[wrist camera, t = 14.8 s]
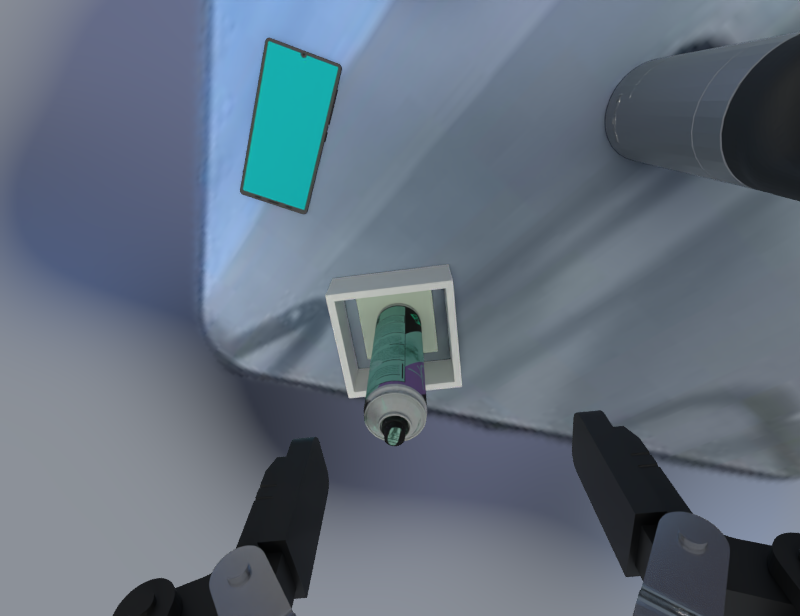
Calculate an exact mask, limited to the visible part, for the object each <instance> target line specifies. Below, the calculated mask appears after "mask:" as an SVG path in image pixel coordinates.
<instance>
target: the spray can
mask: <svg viewBox="0 0 800 616" xmlns="http://www.w3.org/2000/svg"><path fill="white" fill-rule="evenodd" d="M426 416H427V402H426V387H425V372H424V357H423V342H422V327H421V319H420V316H419V314H418V312H417V311H416V310H415V309H414V308H413V307H411V306H409V305H407V304H403V303H394V304H390V305H388V306H386V307H385V308H383V309H382V310H381V312H380V313H379V315H378V317H377V321H376V328H375V335H374V342H373V349H372V356H371V363H370V370H369V377H368V384H367V391H366V398H365V405H364V421H365V424H366V426H367V428H368V430H369V431H370V432H371V433H372V434H373V435H374V436H376V437H378V438H380V439H382V440H385V442H386V443H387V444H388V445H391V446H399V445H401V444H402V443H403V442H404V441H407V440H410V439H412V438H414V437H415V436H417V435H418V434H419V433H420V432H421V431H422V430H423V428H424V426H425V423H426Z"/></svg>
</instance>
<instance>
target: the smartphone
mask: <svg viewBox="0 0 800 616" xmlns="http://www.w3.org/2000/svg"><path fill="white" fill-rule="evenodd" d="M341 70H342V67H341V65H340V64H338V63H335V62H332V61H330V60H327V59H324V58H322V57H319V56H316V55H314V54H311V53H309V52H306V51H303V50H301V49H298V48H295V47H293V46H290V45H287V44H285V43H282V42H279V41H277V40H274V39H272V38H267V39H266V40H265V46H264V52H263V58H262V63H261V69H260V75H259V81H258V87H257V93H256V99H255V105H254V111H253V117H252V123H251V128H250V134H249V140H248V146H247V152H246V158H245V164H244V170H243V176H242V182H241V188H240V192H241V194H243V195H246V196H249V197H252V198H255V199H258V200H261V201H264V202H267V203H270V204H273V205H276V206H279V207H282V208H286V209H289V210H292V211H295V212H298V213H301V214H306V213H307V211H308V207H309V203H310V199H311V194H312V190H313V186H314V182H315V178H316V174H317V170H318V166H319V161H320V157H321V153H322V149H323V145H324V142H325V141H326V137H327V128H328V124H330V120H331V116H332V112H333V108H334V104H335V100H336V95H337V91H338V90H337V87H338V83H339V79H340V75H341Z"/></svg>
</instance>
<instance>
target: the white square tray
mask: <svg viewBox="0 0 800 616" xmlns="http://www.w3.org/2000/svg"><path fill="white" fill-rule="evenodd" d="M435 289H444V295H445V305H446V316H447V326H448V336H449V347H450V357H451V359H446V360H436V361H427V362H424V372H425V387H426V390H435V389H445V388H455V387H462V380H461V368H460V357H459V345H458V334H457V322H456V311H455V299H454V288H453V279H452V275H451V272H450V268H449V264H446V265H438V266H430V267H422V268H414V269H405V270H397V271H389V272H381V273H373V274H364V275H356V276H348V277H340V278H333V279H332V281H331V283H330V286H329V288H328V290H327V293H326V295H325V296H326V301H327V305H328V309H329V314H330V318H331V322H332V327H333V331H334V336H335V340H336V344H337V349H338V353H339V358H340V362H341V366H342V371H343V375H344V379H345V384H346V388H347V393H348V397H349V398H357V397H366V391H367V384H368V377H369V370H370V368H361V369H358V364H357V360H356V355H355V350H354V345H353V341H352V336H351V331H350V326H349V321H348V317H347V312H346V307H345V302H344V300H351V299H356V302H357V307H358V312H359V317H360V322H361V327H362V332H363V338H364V343H365V348H366V353H367V358H368V359H371V356H372V349H373V342H374V335H375V328H376V321H377V317H378V315H379V313H380V312H381V310H382V309H383V308H385V307H386V306H388V305H390V304H394V303H403V304H407V305H409V306H411V307H413V308H414V309H415V310H416V311H417V312H418V314H419V316H420V319H421V327H422V342H423V353H429V352H438V346H437V337H436V328H435V319H434V310H433V301H432V292H431V290H435Z"/></svg>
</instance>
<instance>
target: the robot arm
mask: <svg viewBox="0 0 800 616" xmlns="http://www.w3.org/2000/svg"><path fill="white" fill-rule="evenodd" d="M605 125H606V133H607V137H608V139H609V141H610V143H611V145H612V147H613V148H614V149H615V150H616V151H617V152H618V153H619V154H620V155H622V156H623V157H625V158H627V159H630V160H634V161H638V162H642V163H646V164H650V165H654V166H658V167H662V168H666V169H670V170H675V171H679V172H683V173H687V174H692V175H696V176H700V177H704V178H709V179H713V180H717V181H721V182H726V183H731V184H735V185H739V186H743V187H748V188H752V189H756V190H760V191H764V192H768V193H772V194H775V195H778V196H782V197H786V198H790V199H793V200H797V201H800V32H796V33H790V34H785V35H780V36H776V37H771V38H765V39H760V40H755V41H749V42H744V43H739V44H734V45H728V46H723V47H718V48H712V49H707V50H702V51H697V52H691V53H686V54H680V55H675V56H669V57H664V58H659V59H654V60H651V61H649V62H646V63H643V64H642V65H640V66H638V67H637V68H635V69H633V70H632V71H631V72H630V73H629V74H628V75H627V76H625V77H624V79H623V80H622V81H621V82H620V84H619V85H618V86H617V87H616V89H615V91H614V93H613V94H612V96H611V98H610V101H609V104H608V107H607V112H606V118H605ZM572 456H573V462H574V466H575V469H576V471H577V473H578V476H579V478H580V480H581V482H582V484H583V487H584V489H585V491H586V493H587V495H588V497H589V499H590V501H591V503H592V506H593V508H594V510H595V512H596V514H597V516H598V518H599V521H600V523H601V525H602V527H603V529H604V531H605V533H606V536H607V538H608V540H609V542H610V544H611V546H612V548H613V551H614V552H615V555H616V557H617V559H618V561H619V563H620V566H621V568H622V570H623V572H624V574H625V576H626V577H633V576H641V578H642V580H643V584H642V588H641V590H640V592H639V594H638V598H637V602H636V605H635V610H634V613H633V616H800V533H784V534H781V535H779V536H777V537H776V538H775V539H774V542H773V544H772V546H770V545H765V544H760V543H755V542H750V541H745V540H740V539H736V538H732V537H728V536H726V535H723V533H721V531H720V530H719V529H718V528H717V527H716V526H715V525H713V524H712V523H710V522H709V521H707V520H706V519H704V518H702V517H700V516H697V515H695V514H693V513H692V512H691V511H690V509H689V508H688V506H687V505H686V504H685V502H684V501H683V499H682V498H681V497H680V495H679V494H678V492H677V491H676V490H675V488H674V487H673V486H672V484H671V483H670V481H669V479H668V478H667V477H666V475H665V474H664V472H663V471H662V469H661V468H660V467H658V465H657V462H656V461H655V460H654V458H653V457H652V455H650V454H649V451H648V450H647V448H646V447H645V445H644V444H643V443H642V441H641V440H640V438H639V437H637V436H636V435H635V434H633V433H632V432H631V431H629V430H628V429H627V428H625V427H624V426H619V427H613V426H612V425H611V423H610V422H609V420H608V418H607V417H606V415H605V414H604V413H603V412H602V411H600V410H599V411H589V412H578V413H575V414H574V421H573V440H572ZM328 489H329V478H328V471H327V467H326V464H325V461H324V457H323V453H322V450H321V446H320V442H319V440H318V438H317V437H310V438H299V439H293V440H292V442H291V444H290V447H289V450H288V453H287V456H286V457H277V458H276V459H275V461H274V462H273V463H272V464H271V465H270V467H269V468H268V469H267V470H266V472H265V474H264V477H263V480H262V482H261V485H260V488H259V490H258V492H257V495H256V500H255V501H254V503H253V505H252V508H251V511H250V513H249V516H248V518H247V521H246V524H245V526H244V529H243V532H242V534H241V537H240V539H239V542H238V545H237V547H236V549H234V550H233V551H231V552H229V553H228V554H227V555H225V556H224V557H223V558H222V559H221V560H220V561H219V563H218V564H217V565H216V566H215V568H214V570H213V572H212V573H211V574H209V575H207V576H205V577H203V578H200V579H198V580H195V581H192V582H190V583H187V584H185V585H183V586H180V587H177V588H175V587H174V585H173V584H172V582H170V581H169V580H167V579H164V578H157V579H152V580H150V581H147V582H145V583H143V584H141V585H139V586H138V587H137V588H135V589H134V590H132V591H131V592H130V593H129V594H128V595H127V596H126V597H125V598H124V599H123V600H122V602H121V603H120V604H119V605H118V607H117V609H116V611H115V612H114V614H113V616H296V615H295V613H293V611H292V605H293V601H294V599H296V598H307V595H308V590H309V585H310V580H311V575H312V570H313V565H314V560H315V555H316V550H317V545H318V540H319V535H320V530H321V525H322V520H323V515H324V510H325V505H326V500H327V495H328Z"/></svg>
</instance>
